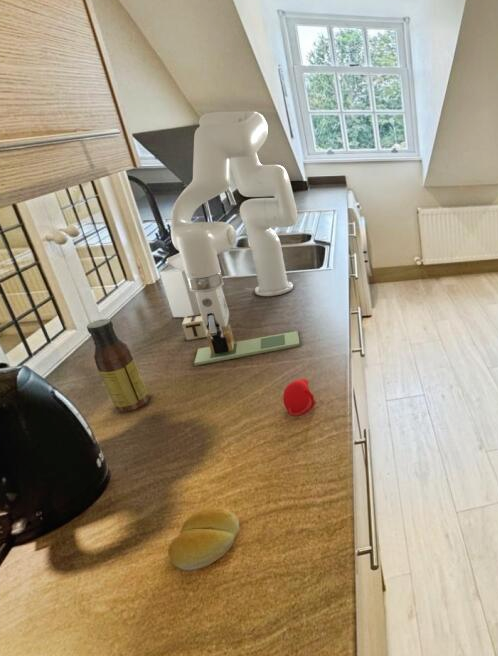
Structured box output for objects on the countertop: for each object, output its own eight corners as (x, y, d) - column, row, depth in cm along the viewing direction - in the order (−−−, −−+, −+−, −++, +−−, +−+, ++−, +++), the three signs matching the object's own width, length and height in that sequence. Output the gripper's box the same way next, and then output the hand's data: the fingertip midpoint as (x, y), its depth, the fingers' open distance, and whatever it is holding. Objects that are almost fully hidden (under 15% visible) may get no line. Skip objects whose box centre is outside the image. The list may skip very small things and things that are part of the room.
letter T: (189, 332, 129) (184, 316, 127) (208, 329, 131) (204, 313, 128) (186, 340, 125) (181, 323, 122) (206, 337, 126) (202, 320, 124)
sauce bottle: (140, 393, 101) (111, 312, 93) (155, 401, 98) (127, 318, 90) (108, 409, 96) (74, 325, 88) (123, 417, 93) (90, 331, 85)
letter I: (213, 345, 118) (208, 327, 116) (234, 341, 119) (229, 324, 117) (211, 354, 113) (206, 336, 111) (233, 350, 115) (228, 332, 113)
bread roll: (160, 574, 61) (151, 553, 59) (196, 518, 69) (189, 499, 67) (220, 574, 60) (212, 553, 59) (249, 518, 69) (243, 498, 67)
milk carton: (208, 308, 145) (193, 251, 137) (194, 318, 138) (178, 258, 131) (187, 308, 146) (171, 251, 138) (173, 317, 139) (155, 258, 132)
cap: (316, 417, 91) (312, 392, 89) (285, 423, 90) (280, 398, 87) (315, 395, 98) (311, 371, 96) (287, 400, 97) (281, 376, 94)
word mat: (198, 351, 119) (198, 348, 118) (297, 333, 126) (297, 330, 126) (194, 365, 112) (193, 362, 111) (299, 346, 119) (299, 343, 119)
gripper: (219, 290, 103) (236, 359, 110) (225, 268, 118) (240, 330, 125) (182, 295, 101) (202, 366, 108) (193, 272, 115) (210, 336, 123)
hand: (222, 346), depth 116 cm, fingers closed on letter I, 5 cm apart
